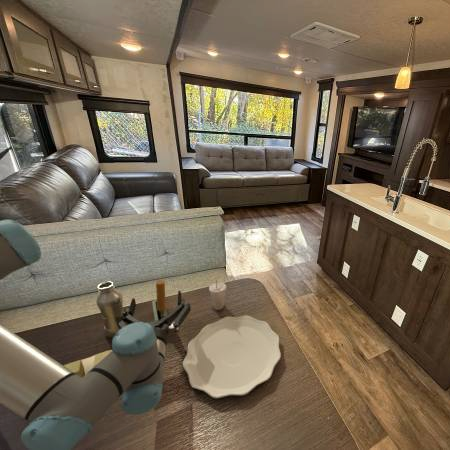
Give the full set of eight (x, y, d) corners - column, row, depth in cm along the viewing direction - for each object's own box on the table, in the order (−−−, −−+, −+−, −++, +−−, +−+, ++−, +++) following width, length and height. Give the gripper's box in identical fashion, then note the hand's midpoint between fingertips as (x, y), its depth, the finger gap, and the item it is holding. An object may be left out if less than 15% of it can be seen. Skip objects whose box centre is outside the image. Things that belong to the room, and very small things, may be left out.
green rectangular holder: (154, 313, 92) (151, 300, 90) (166, 310, 95) (164, 297, 92) (157, 337, 83) (155, 323, 81) (170, 332, 85) (168, 319, 83)
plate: (205, 427, 60) (205, 421, 60) (172, 345, 81) (172, 339, 80) (297, 364, 78) (298, 358, 77) (252, 309, 99) (252, 305, 98)
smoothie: (206, 308, 97) (204, 278, 92) (218, 299, 103) (217, 270, 97) (218, 314, 95) (217, 284, 89) (230, 305, 100) (229, 276, 95)
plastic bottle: (108, 329, 84) (94, 281, 76) (131, 324, 87) (120, 277, 79) (103, 344, 79) (88, 293, 71) (129, 338, 82) (116, 289, 74)
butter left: (67, 374, 68) (63, 365, 67) (84, 368, 70) (80, 359, 68) (64, 386, 65) (60, 377, 63) (82, 379, 67) (79, 371, 65)
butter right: (97, 363, 71) (94, 354, 70) (112, 358, 73) (110, 349, 72) (96, 374, 68) (93, 366, 67) (112, 368, 70) (109, 360, 69)
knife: (156, 316, 91) (154, 276, 85) (164, 314, 93) (163, 275, 87) (159, 331, 85) (157, 289, 79) (167, 329, 87) (166, 287, 81)
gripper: (95, 372, 62) (115, 314, 80) (200, 345, 72) (198, 299, 90) (88, 351, 60) (110, 295, 77) (199, 326, 69) (196, 282, 87)
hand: (157, 297), depth 84 cm, fingers open, 13 cm apart
